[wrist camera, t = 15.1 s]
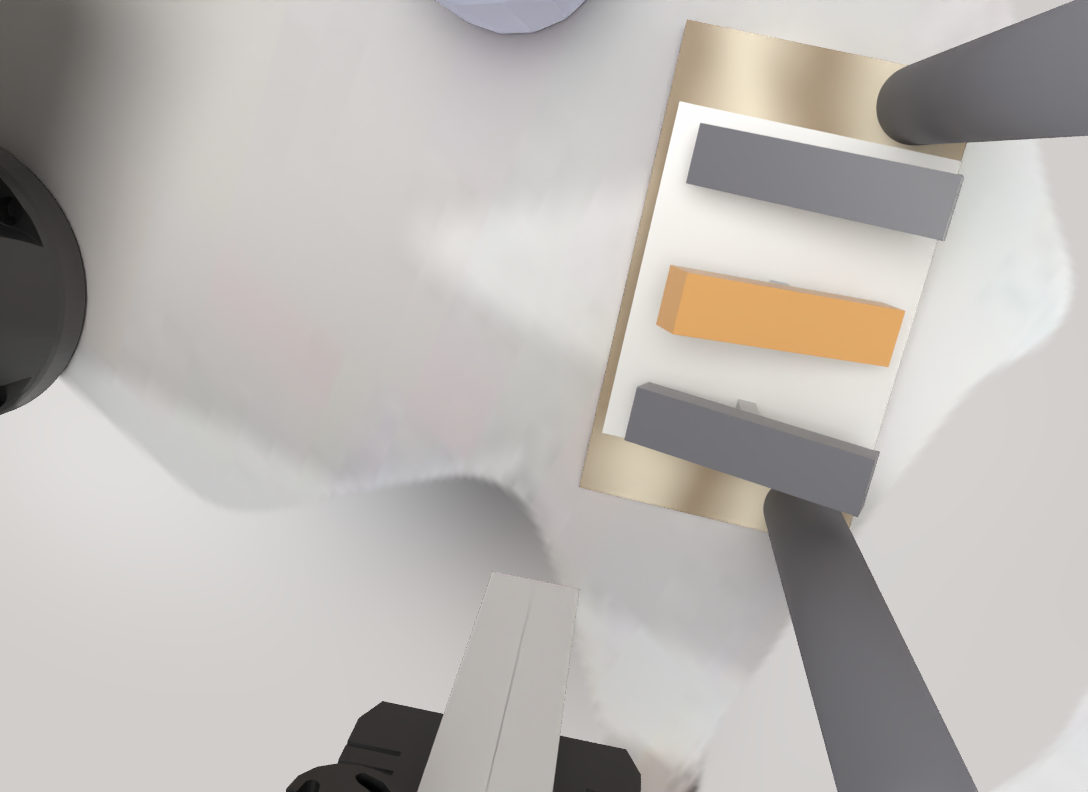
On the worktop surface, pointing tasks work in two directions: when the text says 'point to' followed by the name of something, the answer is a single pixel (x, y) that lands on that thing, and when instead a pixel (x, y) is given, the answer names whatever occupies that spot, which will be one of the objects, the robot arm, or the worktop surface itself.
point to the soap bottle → (512, 13)
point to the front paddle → (825, 181)
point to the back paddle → (752, 447)
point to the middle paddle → (778, 317)
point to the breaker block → (777, 257)
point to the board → (702, 79)
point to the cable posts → (821, 532)
